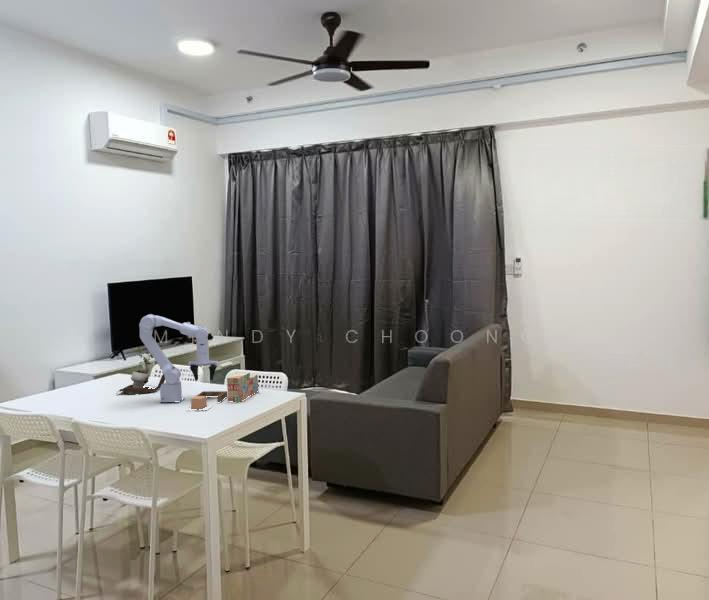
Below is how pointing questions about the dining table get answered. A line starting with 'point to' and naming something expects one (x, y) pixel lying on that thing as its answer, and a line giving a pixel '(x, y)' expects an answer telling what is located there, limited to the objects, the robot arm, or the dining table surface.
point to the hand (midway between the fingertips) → (204, 380)
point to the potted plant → (141, 377)
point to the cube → (198, 402)
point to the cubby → (214, 394)
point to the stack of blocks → (241, 386)
